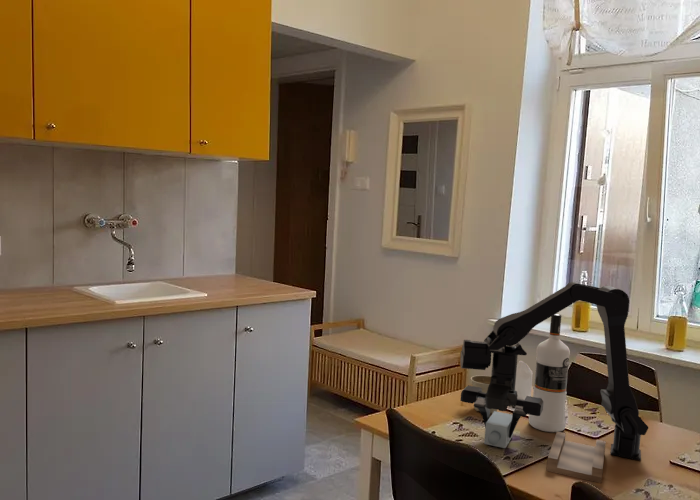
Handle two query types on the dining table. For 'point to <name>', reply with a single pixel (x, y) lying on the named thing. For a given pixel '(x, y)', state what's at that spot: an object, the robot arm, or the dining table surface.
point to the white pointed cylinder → (523, 380)
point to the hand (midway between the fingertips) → (498, 434)
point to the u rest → (576, 458)
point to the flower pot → (482, 385)
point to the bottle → (498, 429)
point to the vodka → (551, 380)
